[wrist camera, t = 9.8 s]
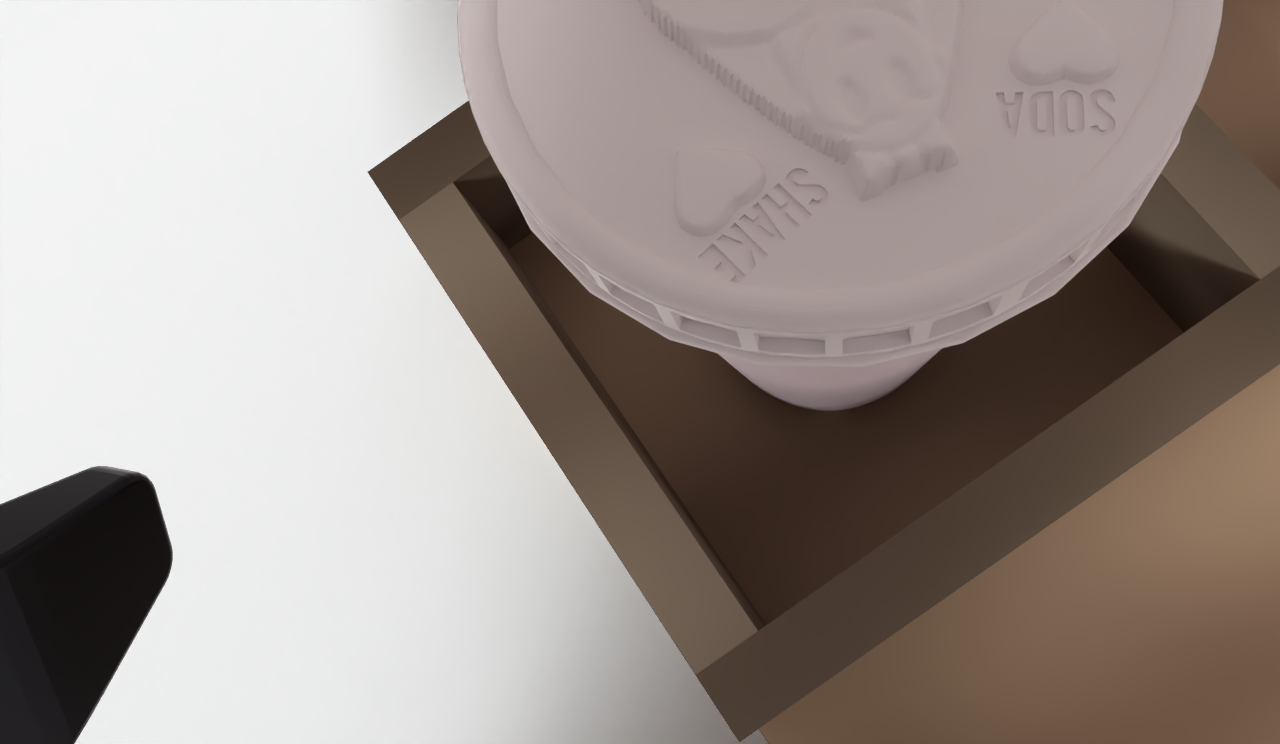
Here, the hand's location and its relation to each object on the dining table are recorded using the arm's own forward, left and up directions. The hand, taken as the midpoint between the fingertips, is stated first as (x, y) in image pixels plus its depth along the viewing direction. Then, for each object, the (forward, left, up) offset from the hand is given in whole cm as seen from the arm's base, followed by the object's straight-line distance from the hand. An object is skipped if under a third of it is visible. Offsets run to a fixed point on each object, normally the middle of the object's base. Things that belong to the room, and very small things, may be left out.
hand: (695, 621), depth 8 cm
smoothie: (+4, -4, -10) cm, 11 cm away
